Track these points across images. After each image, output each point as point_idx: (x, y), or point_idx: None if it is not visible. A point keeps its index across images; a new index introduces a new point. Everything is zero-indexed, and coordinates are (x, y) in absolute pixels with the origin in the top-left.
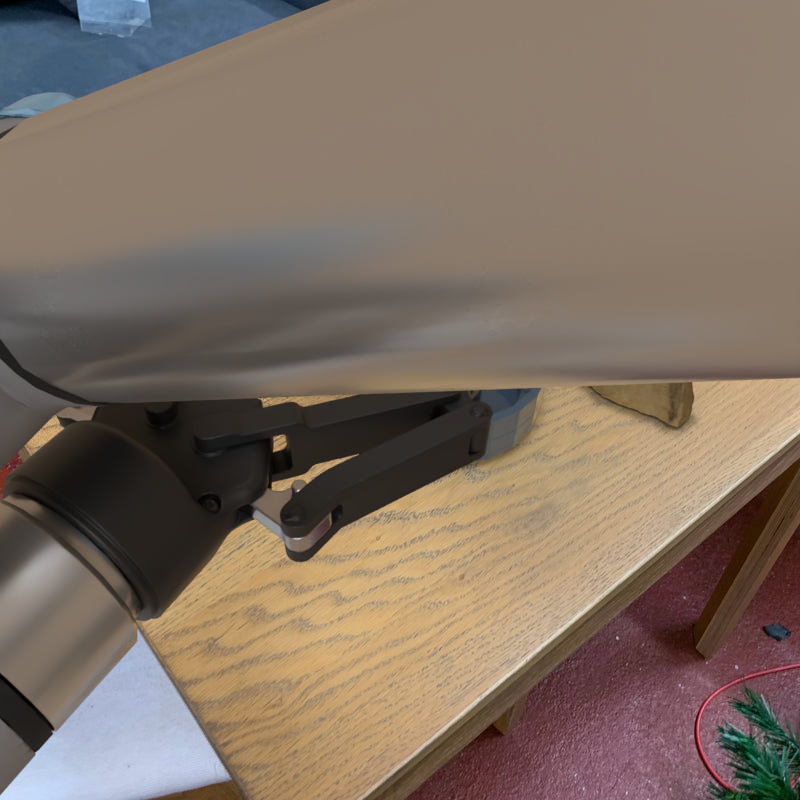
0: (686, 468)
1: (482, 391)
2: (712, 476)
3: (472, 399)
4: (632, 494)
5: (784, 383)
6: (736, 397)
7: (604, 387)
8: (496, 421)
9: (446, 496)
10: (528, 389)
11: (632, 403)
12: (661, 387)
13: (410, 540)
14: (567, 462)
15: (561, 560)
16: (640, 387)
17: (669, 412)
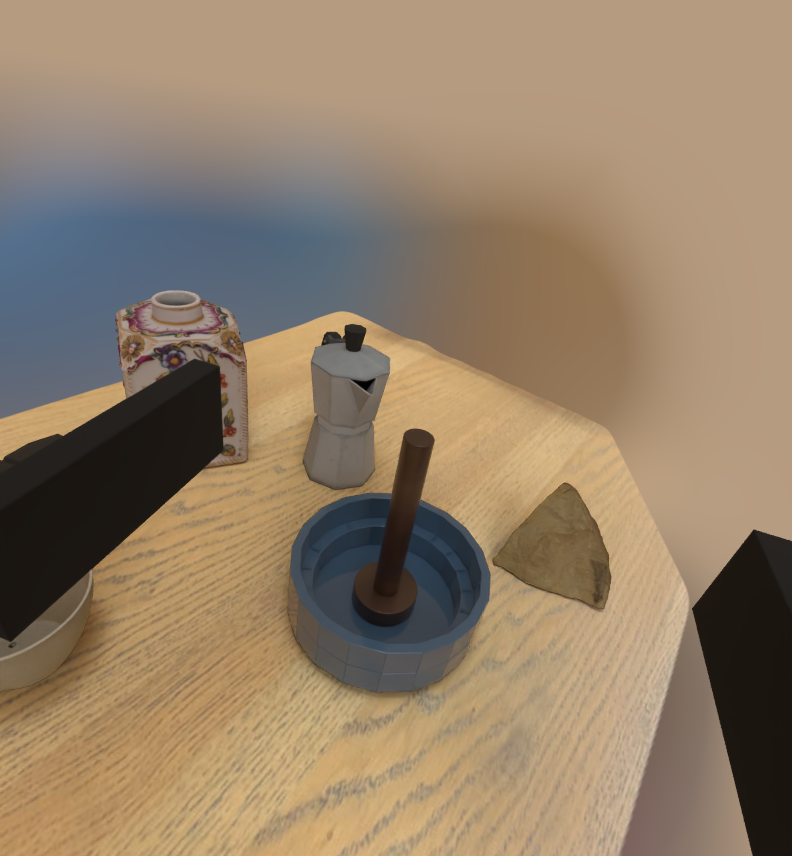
0: (627, 655)
1: None
2: (653, 661)
3: (410, 606)
4: (593, 698)
5: (661, 550)
6: (633, 569)
7: (527, 573)
8: (456, 640)
9: (403, 742)
10: (467, 588)
11: (556, 587)
12: (585, 570)
13: (373, 829)
14: (518, 667)
15: (557, 816)
16: (563, 571)
17: (594, 594)
